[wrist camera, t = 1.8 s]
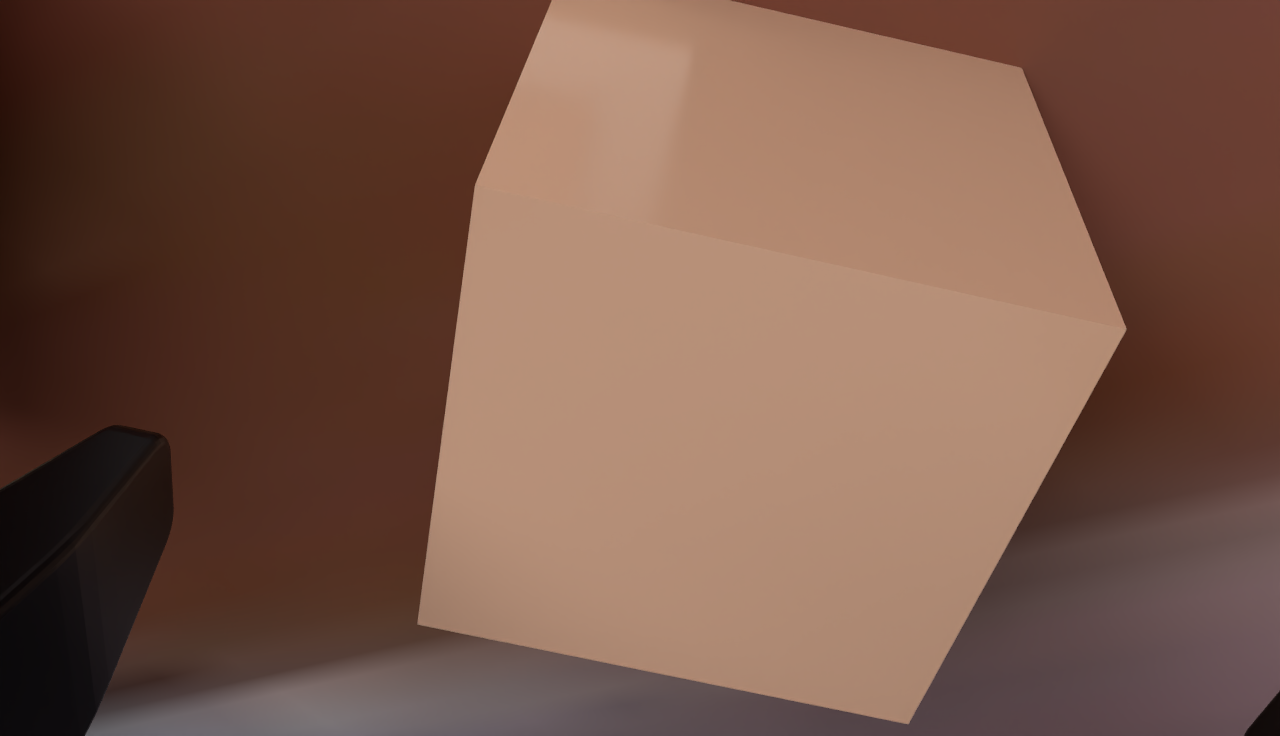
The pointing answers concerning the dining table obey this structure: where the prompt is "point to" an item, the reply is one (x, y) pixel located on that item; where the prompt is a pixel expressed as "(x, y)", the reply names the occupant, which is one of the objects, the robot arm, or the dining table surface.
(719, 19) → the terracotta cube
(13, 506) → the robot arm
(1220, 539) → the dining table surface
